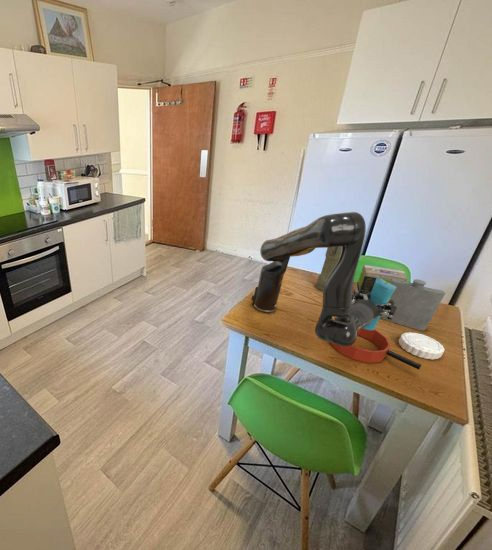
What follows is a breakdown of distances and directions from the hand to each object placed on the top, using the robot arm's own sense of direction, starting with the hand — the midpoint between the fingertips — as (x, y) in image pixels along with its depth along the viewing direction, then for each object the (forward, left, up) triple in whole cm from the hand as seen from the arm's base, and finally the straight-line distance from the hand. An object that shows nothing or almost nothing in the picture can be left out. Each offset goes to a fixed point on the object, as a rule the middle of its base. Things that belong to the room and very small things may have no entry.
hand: (380, 298), depth 106 cm
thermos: (-28, +31, -20) cm, 46 cm away
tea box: (-10, +39, -20) cm, 45 cm away
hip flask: (+4, +26, -20) cm, 33 cm away
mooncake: (+14, +12, -20) cm, 27 cm away
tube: (0, -3, -12) cm, 12 cm away
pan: (+5, -5, -20) cm, 21 cm away
